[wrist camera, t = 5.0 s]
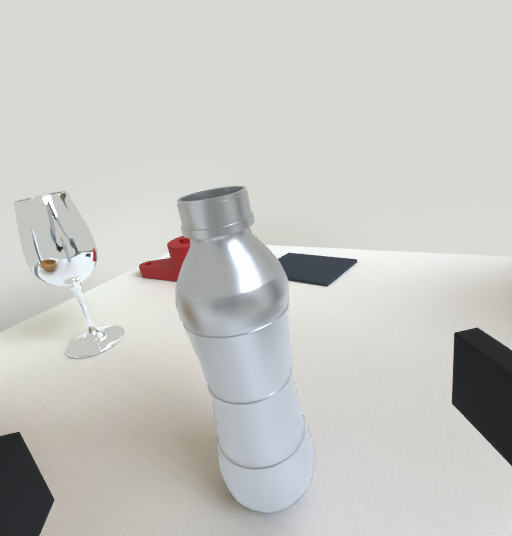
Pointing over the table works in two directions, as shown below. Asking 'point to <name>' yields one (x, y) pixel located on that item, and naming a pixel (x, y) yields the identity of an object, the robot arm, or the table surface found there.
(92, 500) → the table surface
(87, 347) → the wineglass
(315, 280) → the mat
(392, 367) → the table surface
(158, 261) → the lever
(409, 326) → the table surface
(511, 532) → the table surface
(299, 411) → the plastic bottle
